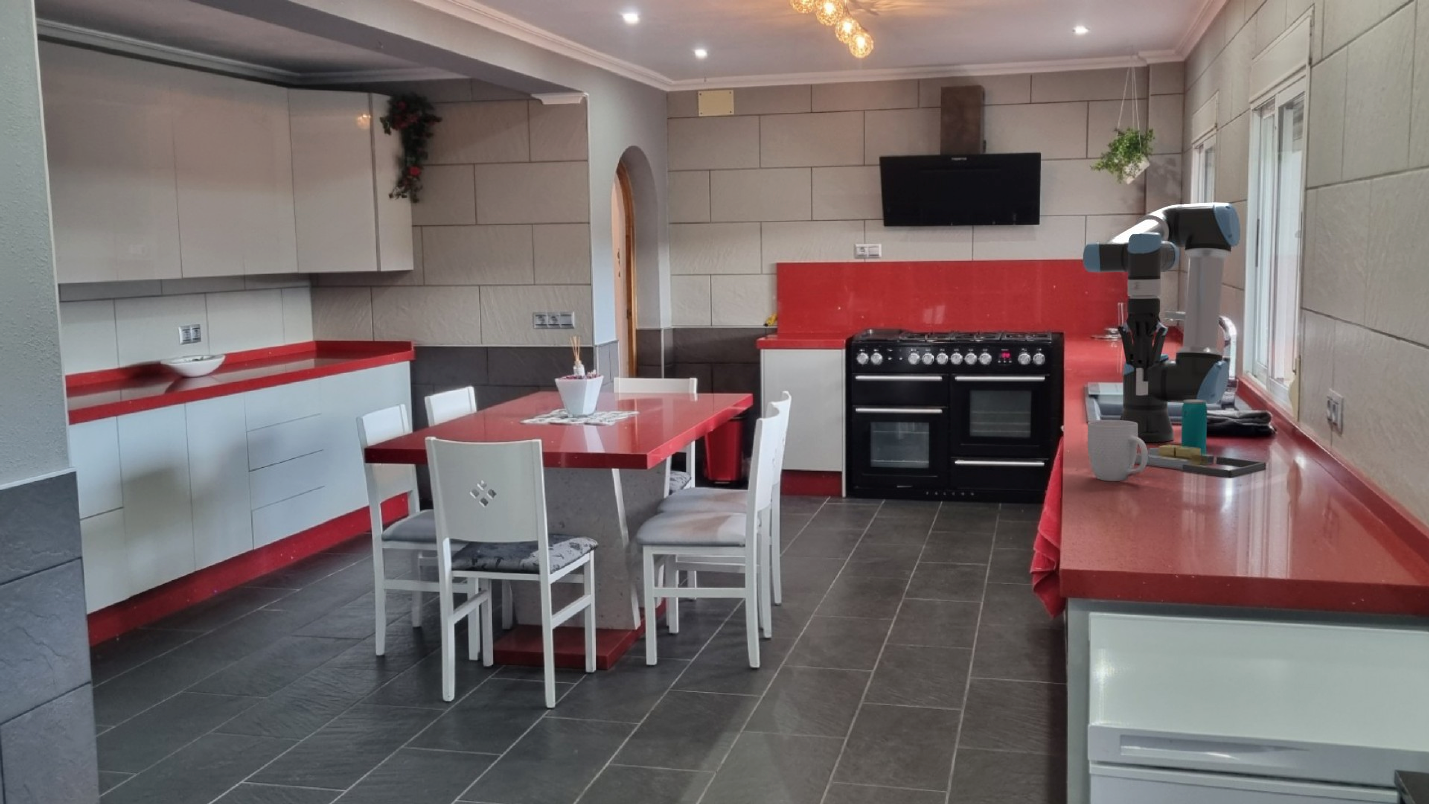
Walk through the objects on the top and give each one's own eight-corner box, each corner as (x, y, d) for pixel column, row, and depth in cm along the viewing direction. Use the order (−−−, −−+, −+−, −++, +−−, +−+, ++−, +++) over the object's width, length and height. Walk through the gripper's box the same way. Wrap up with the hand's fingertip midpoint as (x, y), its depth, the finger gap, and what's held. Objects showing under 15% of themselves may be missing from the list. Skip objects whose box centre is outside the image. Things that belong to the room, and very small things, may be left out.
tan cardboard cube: (1184, 463, 293) (1185, 446, 292) (1200, 465, 290) (1200, 448, 289) (1175, 465, 290) (1175, 448, 290) (1190, 467, 287) (1191, 450, 287)
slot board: (1153, 461, 304) (1153, 447, 304) (1213, 469, 292) (1213, 455, 291) (1124, 467, 297) (1125, 453, 296) (1185, 476, 284) (1185, 461, 284)
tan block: (1167, 460, 296) (1168, 444, 296) (1182, 462, 293) (1183, 446, 293) (1158, 462, 294) (1158, 446, 293) (1173, 464, 291) (1173, 448, 290)
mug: (1161, 481, 279) (1162, 424, 277) (1130, 487, 273) (1131, 429, 271) (1107, 472, 291) (1108, 418, 290) (1076, 478, 285) (1077, 422, 284)
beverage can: (1201, 458, 307) (1203, 398, 305) (1208, 462, 301) (1210, 401, 299) (1178, 458, 307) (1179, 399, 306) (1184, 462, 302) (1185, 402, 300)
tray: (1217, 468, 292) (1217, 456, 292) (1265, 475, 283) (1265, 462, 283) (1182, 477, 283) (1182, 464, 283) (1230, 484, 274) (1230, 470, 274)
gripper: (1110, 297, 298) (1109, 394, 301) (1159, 298, 288) (1157, 398, 290) (1129, 296, 302) (1127, 391, 305) (1177, 297, 292) (1174, 395, 295)
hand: (1141, 394), depth 298 cm, fingers closed
